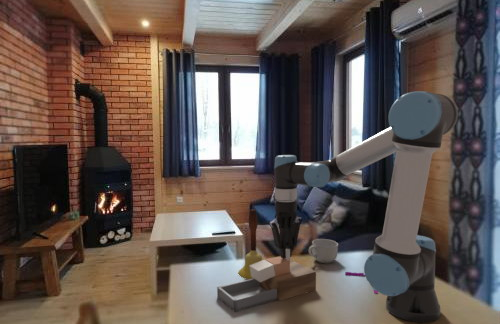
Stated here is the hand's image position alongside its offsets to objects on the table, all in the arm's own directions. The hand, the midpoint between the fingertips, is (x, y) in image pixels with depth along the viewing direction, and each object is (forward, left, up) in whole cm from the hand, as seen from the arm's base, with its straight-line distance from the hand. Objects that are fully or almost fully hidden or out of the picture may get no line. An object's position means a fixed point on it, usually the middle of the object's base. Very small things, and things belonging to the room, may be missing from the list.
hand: (286, 266), depth 132 cm
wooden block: (-1, 0, -8) cm, 8 cm away
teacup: (+14, -28, -8) cm, 32 cm away
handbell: (+18, +3, -8) cm, 20 cm away
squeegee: (-7, -29, -9) cm, 31 cm away
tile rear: (0, +4, -1) cm, 4 cm away
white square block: (0, +10, -1) cm, 10 cm away
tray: (0, +16, -8) cm, 18 cm away
